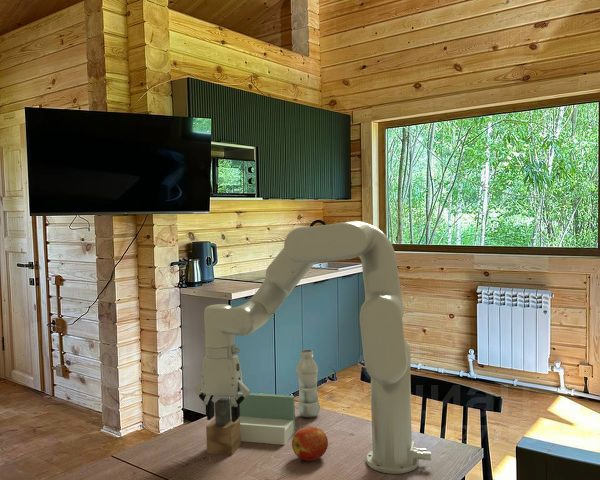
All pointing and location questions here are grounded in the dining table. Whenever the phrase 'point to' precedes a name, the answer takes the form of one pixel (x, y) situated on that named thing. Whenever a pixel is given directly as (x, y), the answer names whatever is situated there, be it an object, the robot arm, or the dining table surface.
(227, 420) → the tan grey tall block
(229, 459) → the dining table surface
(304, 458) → the apple
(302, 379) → the plastic bottle
